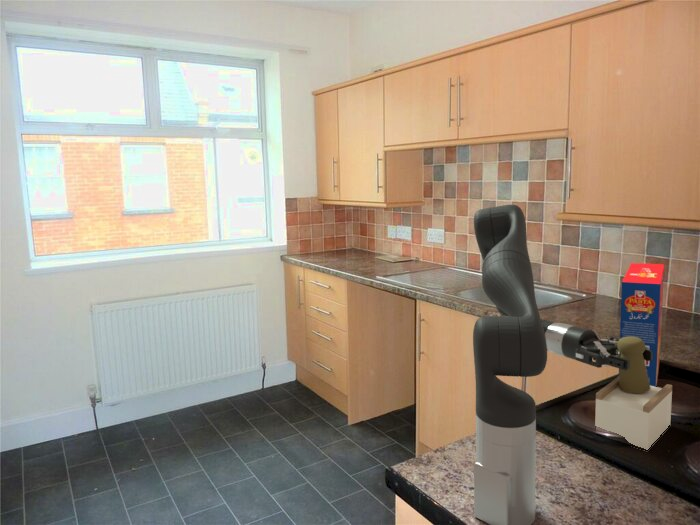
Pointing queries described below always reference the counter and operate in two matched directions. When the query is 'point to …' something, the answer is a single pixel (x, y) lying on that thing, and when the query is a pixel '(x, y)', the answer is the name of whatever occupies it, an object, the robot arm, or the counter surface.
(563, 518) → the counter surface
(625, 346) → the olive green pawn
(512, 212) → the robot arm
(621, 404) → the display stand
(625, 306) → the pasta box
